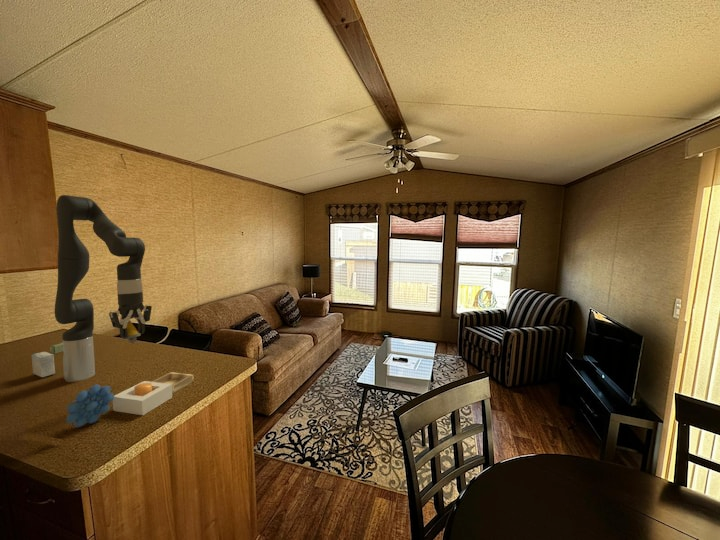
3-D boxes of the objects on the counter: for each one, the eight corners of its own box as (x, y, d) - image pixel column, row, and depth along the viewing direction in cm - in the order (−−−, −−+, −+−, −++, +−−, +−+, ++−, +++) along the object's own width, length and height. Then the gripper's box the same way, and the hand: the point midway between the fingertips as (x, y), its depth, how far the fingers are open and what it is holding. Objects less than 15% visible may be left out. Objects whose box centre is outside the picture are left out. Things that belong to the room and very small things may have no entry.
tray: (147, 391, 116) (147, 384, 116) (170, 378, 127) (170, 372, 126) (172, 394, 114) (171, 387, 113) (193, 381, 124) (193, 374, 124)
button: (131, 401, 105) (130, 388, 105) (144, 394, 110) (143, 382, 110) (143, 402, 104) (142, 390, 104) (155, 395, 109) (155, 383, 109)
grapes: (110, 410, 103) (108, 376, 102) (117, 417, 99) (115, 381, 98) (63, 427, 93) (60, 389, 92) (69, 435, 89) (66, 396, 88)
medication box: (53, 354, 152) (53, 347, 151) (49, 353, 152) (49, 346, 152) (80, 346, 163) (80, 339, 163) (76, 345, 164) (76, 338, 163)
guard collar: (113, 410, 103) (112, 396, 102) (145, 393, 114) (144, 380, 114) (142, 415, 100) (142, 400, 100) (172, 397, 112) (171, 384, 111)
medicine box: (55, 373, 130) (54, 354, 129) (41, 377, 126) (39, 357, 125) (46, 370, 133) (45, 351, 132) (32, 374, 129) (30, 354, 128)
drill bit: (130, 346, 111) (125, 319, 111) (121, 347, 113) (116, 321, 113) (145, 341, 116) (140, 316, 116) (136, 343, 118) (131, 317, 118)
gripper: (143, 288, 121) (145, 329, 122) (101, 293, 107) (104, 340, 109) (156, 289, 118) (158, 331, 120) (115, 294, 105) (118, 342, 106)
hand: (132, 335), depth 114 cm, fingers closed on drill bit, 5 cm apart
